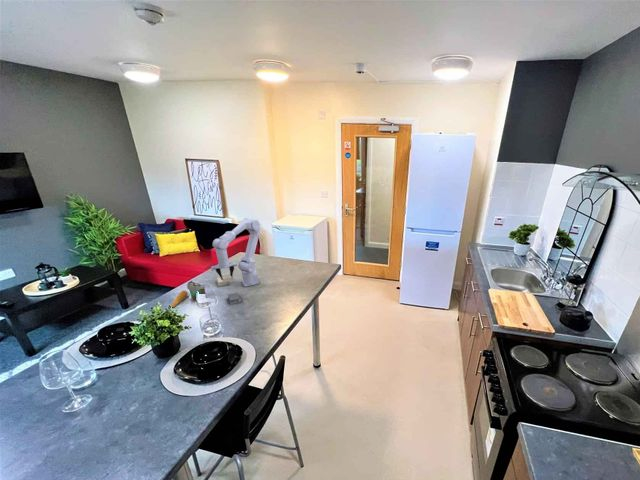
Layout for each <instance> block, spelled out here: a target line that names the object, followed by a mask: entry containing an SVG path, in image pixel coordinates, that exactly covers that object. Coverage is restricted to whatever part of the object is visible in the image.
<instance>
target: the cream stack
mask: <svg viewBox="0 0 640 480" xmlns="http://www.w3.org/2000/svg"><path fill="white" fill-rule="evenodd" d="M216 283H217V286H218V287H223V286H228V285H229V283H228V282H223V280H221V277H220V276H219V277H216Z"/></svg>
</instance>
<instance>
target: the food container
mask: <svg viewBox="0 0 640 480" xmlns="http://www.w3.org/2000/svg"><path fill="white" fill-rule="evenodd" d="M186 289H187V290H189V294H190V296H191V298H192V299H191V300H192V301H194V302H197V301H196V293H197V291H198V292H199V294H206V286H205V284H200V283H198V282H194V281H193V280H189V281H188V283H187V284H186ZM206 295H207V294H206Z"/></svg>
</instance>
